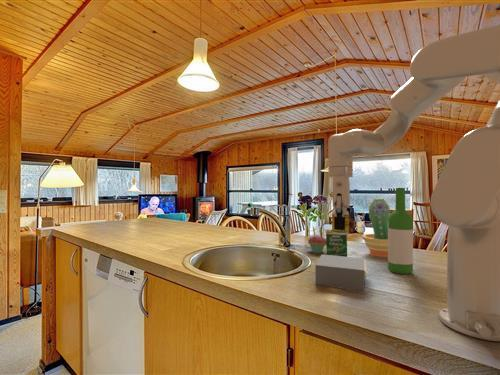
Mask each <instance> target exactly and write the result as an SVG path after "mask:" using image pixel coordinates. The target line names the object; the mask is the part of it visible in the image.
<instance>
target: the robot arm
mask: <svg viewBox="0 0 500 375" xmlns="http://www.w3.org/2000/svg"><path fill="white" fill-rule="evenodd" d="M409 73H410V75H411V76H412V77H411V78H410V79H409V80H407V82H406V83H405V84H404V85H402V86H401V87H399V88H398V90H397V91H395V92H394V93H393V94H392V95H391V97H390V99H389V105H390V107H391V110H390V111H391V112H390V115H389V116H388V117H387V119H386V120H385V121H384V122H383V123H382V124H381V125H380V126H379V127H378V128H376V129H375V130H374V131H371V130H366V129H361V128H360V129H359V128H355V129H351V130H348V131H346V132H343V133H338V134H337V133H336V134H333V135H330V137H329V138H328V141H327V142H328V143H327V144H328V146H327V147H328V148H327V152H328V155H327V156H328V161H327V162H328V165H327V166H328V172H327V173H328V174H327V175H328V178H331V197H332V198H331V201H332V202H331V203H332V207H333V209H334V208H335V209H334V210H335V217H334V229H336V230H345V217H344V206H347V209H348V208H350V206H351V200H350V199H351V198H350V197H351V195H350V194H351V189H350V187H351V186H350V183H351V182H350V178H353V174H354V173H353V172H354V171H353V168H354V166H353V165H354V164H353V160H354V158H353V156H354V155H356V156H367V157H374V156H375V157H376V156H379V155H380V154H382V153H384V152H385V151H387V150H388V149H390V148H391V147H392V146H394V145H395V144H396V143H398V142H399V141H400V140H401V139H402V138H403V137H404V136H405V135H406V133H407V132H408V130H409V129H410V127H411V125H412V124H413V122H414V120H416V119H417V118H418V117H420V116H421V115H422V114H423V113H424V112H425V111H427V110H429V109H430V108H431V107H432V106H433V105H435V104H436V103H437V102H439V101H440V100H441V99H443V98H444V97H445V96H446V95H447V94H448V93H450V92H451V91H452V90H454V89H456V87H458V86H459V85H460V84H461V83H462V82H463V81H464V80H465V79H466V78H467V77H474V76H484V77H486V78H487V79H488V80H491V81H492V82H494V83H496V84H498V85H500V24H496V25H491V26H487V27H483V28H480V29H476V30H473V31H466V32H464V33H460V34H456V35H451V36H448V37H444V38H441V39H438V40H434V41H432V42H430V43H428V44H426V45H424V46H423V47H422V48H421V49H420V50H418V51H417V52H416V53H415V55H413V57H412V59H411V62H410V65H409ZM334 204H335V205H334ZM341 206H343V207H341ZM430 209H431V212H432V214H433V215H434V217H435V218H436V220H438V221H439V222H440V223H442V224H444V225H446V226H448V231H447V241H446V244H447V246H446V247H447V248H446V250H447V251H446V278H447V279H446V281H447V282H446V294H447V295H446V296H447V298H446V299H447V300H446V302H447V303H446V306H447V307H445V308H442V309H440V310H439V311H438V318H439V320H440V321H441V322H442V323H443V324H444V325H446V326H447V327H448V328H450V329H452V330H454V331H456V332H459V333H460V334H464V335H466V336H469V337H473V338H475V339H480V340H485V341H492V342H500V100H498V103H497V104H496V105H495V107H494V109H493V111H492V113H491V116H490V118H489V120H488V122H487V123H486V125H485V126H480V127H477V128H475V129H473V130H470V131H468V132H467V133H466V134H464V135H463V136H462V137H461V138H460V139H459V140H458V141H457V142H456V144H455V145H454V146H453V149H452V151H451V153H450V154H449V156H448V159H447V161H446V163H445V165H444V167H443V169H442V171H441V174H440V175H439V178H438V180H437V182H436V183H435V187H434V188H433V191H432V194H431V196H430Z"/></svg>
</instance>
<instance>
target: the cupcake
mask: <svg viewBox="0 0 500 375" xmlns="http://www.w3.org/2000/svg"><path fill="white" fill-rule="evenodd" d="M315 231H316V229H315V227H314V226H312V232H313V236H312V237H310V238H309V239H307V240H308V241H307V243H308V245H309V246H310V248H311V252H313V253H318V254H319V253H323V251H324V248H325V247H326V238H324V237H322V236H318V235H316V232H315Z"/></svg>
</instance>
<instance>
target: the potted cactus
mask: <svg viewBox="0 0 500 375" xmlns="http://www.w3.org/2000/svg"><path fill="white" fill-rule="evenodd" d="M390 214H391V208H390V206H389V204H388V203H387V201H386V200H385V199H384V198H382V199H380V198H377V199H376V198H373V200H372V202H371V203H370V205H369V206H368V216H369V217H368V218H369V219H370V222H371V225H372V230H373V233H364V234H362V235H361V237H362V240H363V241H364V242H365V246H366V248H367V249H368V250H369V254H370V255H371V256H374V257H379V258H388V219H389V216H390Z"/></svg>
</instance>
